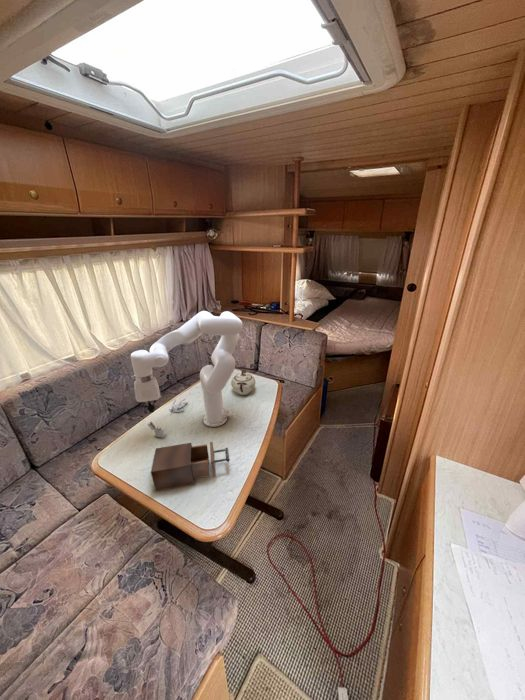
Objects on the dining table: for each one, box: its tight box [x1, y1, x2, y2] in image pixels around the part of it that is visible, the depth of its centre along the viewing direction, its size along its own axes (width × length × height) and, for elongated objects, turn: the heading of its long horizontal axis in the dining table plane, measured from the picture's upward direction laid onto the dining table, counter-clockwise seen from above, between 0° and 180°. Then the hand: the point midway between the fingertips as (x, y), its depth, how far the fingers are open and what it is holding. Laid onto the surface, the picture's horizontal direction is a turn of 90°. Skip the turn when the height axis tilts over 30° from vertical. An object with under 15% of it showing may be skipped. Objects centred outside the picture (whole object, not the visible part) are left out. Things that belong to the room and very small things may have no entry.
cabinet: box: [150, 442, 195, 492], centre depth 112 cm, size 15×13×10 cm
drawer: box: [191, 441, 230, 480], centre depth 114 cm, size 20×11×8 cm, turn 102°
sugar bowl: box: [230, 369, 256, 396], centre depth 169 cm, size 20×15×15 cm
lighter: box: [147, 421, 166, 439], centre depth 135 cm, size 7×2×8 cm, turn 79°
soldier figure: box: [168, 398, 189, 413], centre depth 156 cm, size 8×5×12 cm
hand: (151, 410), depth 130 cm, fingers closed
